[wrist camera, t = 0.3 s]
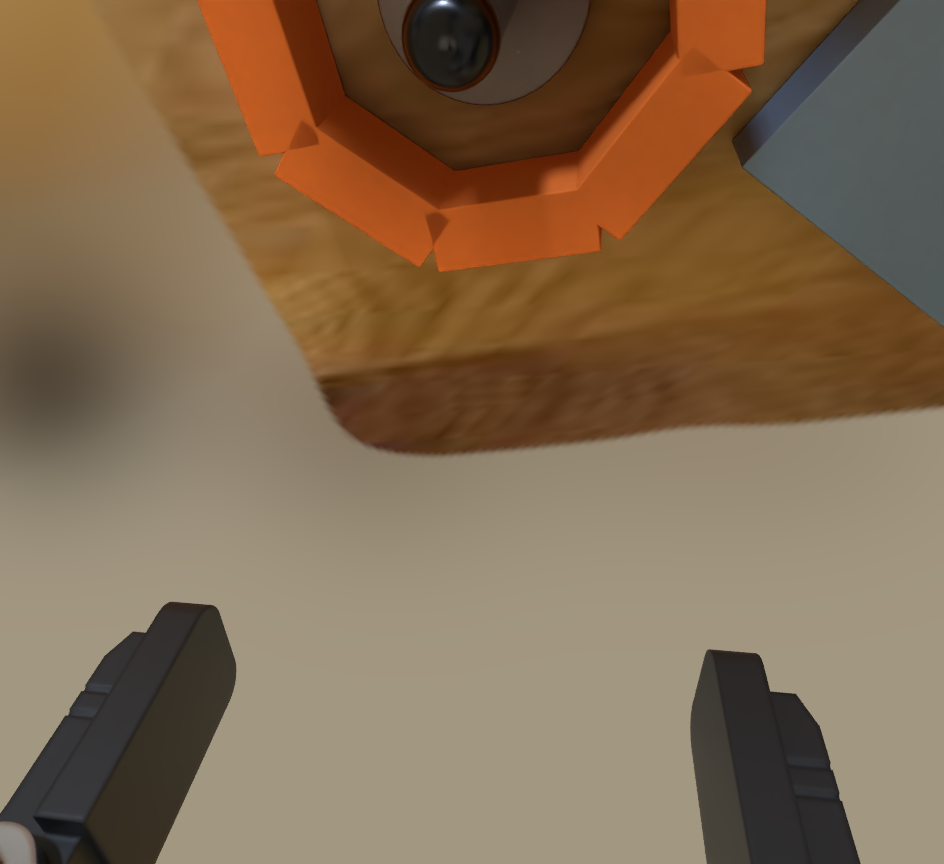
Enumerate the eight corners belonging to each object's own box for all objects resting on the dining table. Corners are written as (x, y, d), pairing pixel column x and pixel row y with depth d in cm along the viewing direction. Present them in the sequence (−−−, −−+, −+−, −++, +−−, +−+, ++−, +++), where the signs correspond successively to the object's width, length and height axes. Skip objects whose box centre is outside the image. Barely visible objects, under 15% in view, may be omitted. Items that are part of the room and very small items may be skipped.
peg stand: (450, -211, 21) (384, -216, 14) (639, -49, 22) (650, 6, 16) (346, 17, 25) (262, 87, 19) (511, 137, 27) (483, 236, 21)
